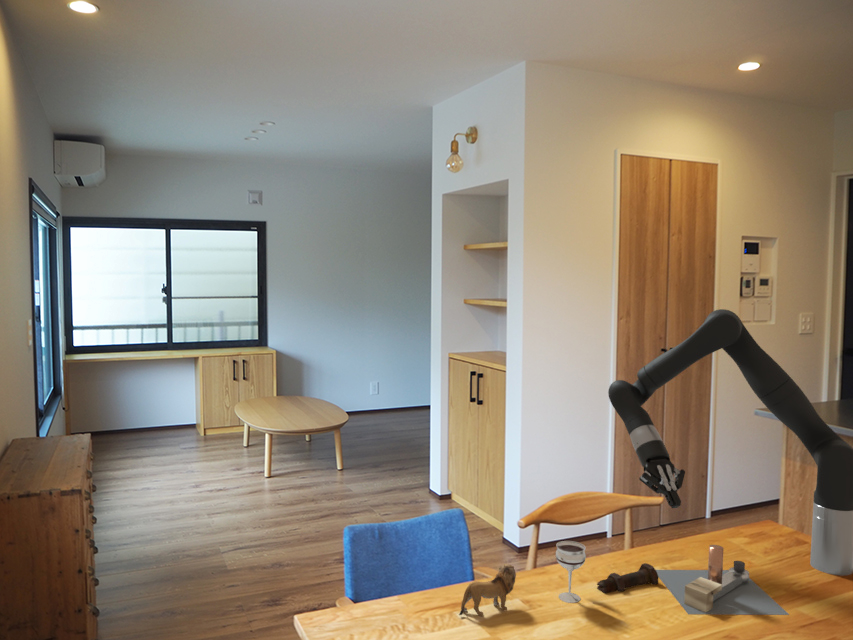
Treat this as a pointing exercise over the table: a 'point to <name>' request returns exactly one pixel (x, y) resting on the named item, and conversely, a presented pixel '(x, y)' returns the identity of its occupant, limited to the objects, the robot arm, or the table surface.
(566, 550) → the wineglass
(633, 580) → the bolt
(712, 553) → the link
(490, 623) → the table surface
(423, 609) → the table surface
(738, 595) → the board
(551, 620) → the table surface
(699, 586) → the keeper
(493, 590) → the lion figurine
